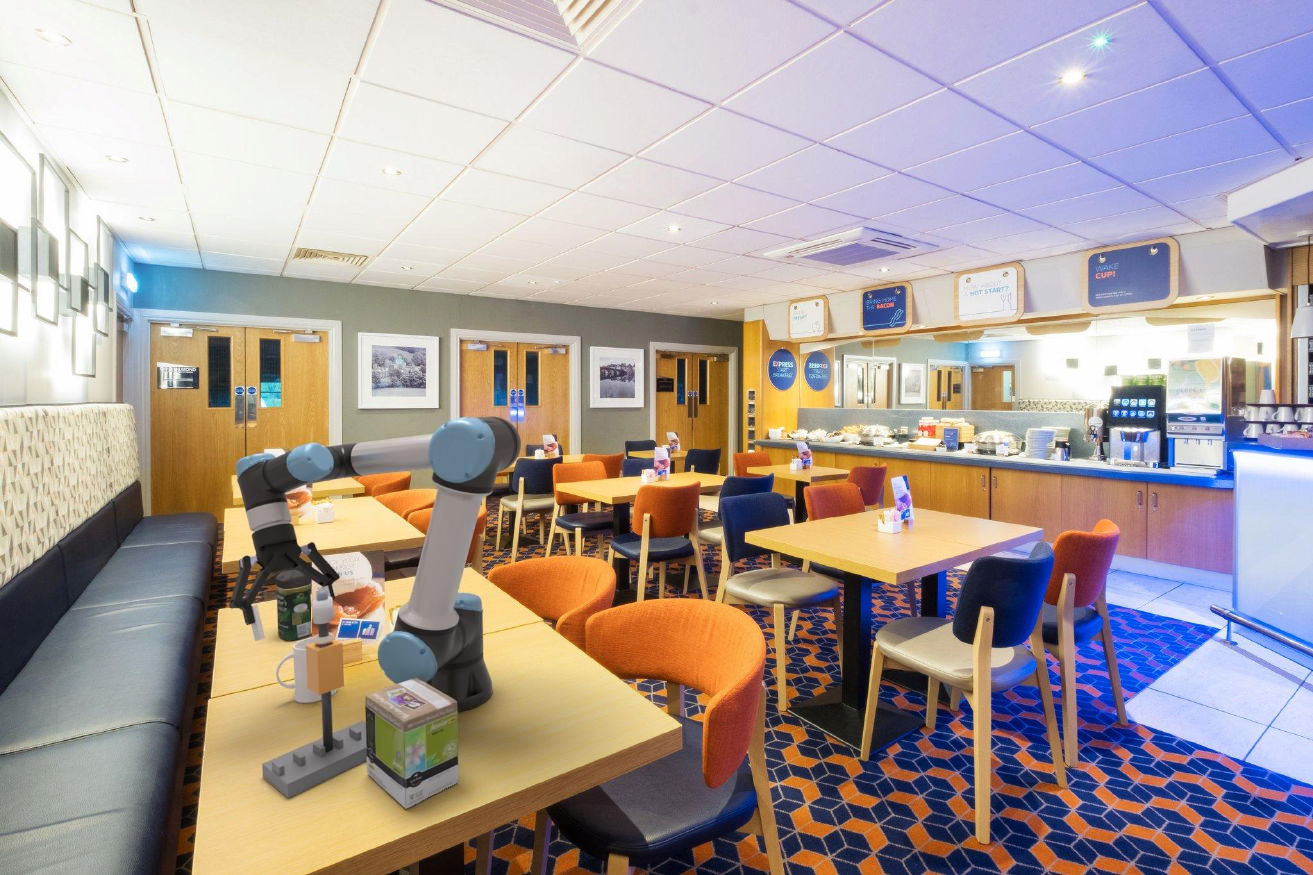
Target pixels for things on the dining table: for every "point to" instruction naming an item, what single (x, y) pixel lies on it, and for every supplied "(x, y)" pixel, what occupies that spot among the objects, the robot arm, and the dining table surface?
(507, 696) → the dining table surface
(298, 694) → the mug
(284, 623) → the coffee jar
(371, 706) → the tea box
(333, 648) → the marker sleeve
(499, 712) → the dining table surface
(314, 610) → the rod stand with pegs
